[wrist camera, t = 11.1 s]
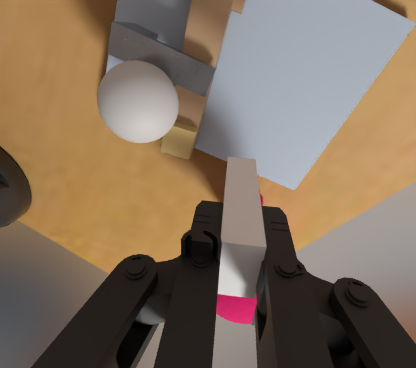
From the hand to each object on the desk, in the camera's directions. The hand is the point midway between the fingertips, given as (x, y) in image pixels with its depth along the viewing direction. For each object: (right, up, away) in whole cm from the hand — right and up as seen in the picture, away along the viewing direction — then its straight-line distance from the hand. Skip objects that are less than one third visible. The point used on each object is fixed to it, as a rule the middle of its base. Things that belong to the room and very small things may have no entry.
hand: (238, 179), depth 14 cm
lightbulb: (-6, +10, +12) cm, 17 cm away
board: (+1, +11, +11) cm, 16 cm away
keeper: (-5, +12, +11) cm, 17 cm away
